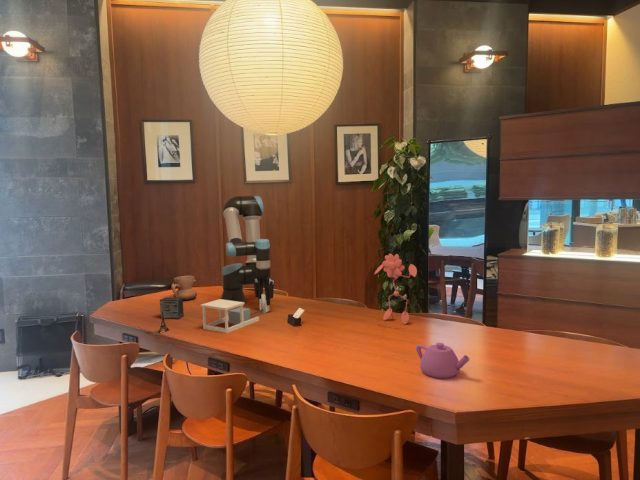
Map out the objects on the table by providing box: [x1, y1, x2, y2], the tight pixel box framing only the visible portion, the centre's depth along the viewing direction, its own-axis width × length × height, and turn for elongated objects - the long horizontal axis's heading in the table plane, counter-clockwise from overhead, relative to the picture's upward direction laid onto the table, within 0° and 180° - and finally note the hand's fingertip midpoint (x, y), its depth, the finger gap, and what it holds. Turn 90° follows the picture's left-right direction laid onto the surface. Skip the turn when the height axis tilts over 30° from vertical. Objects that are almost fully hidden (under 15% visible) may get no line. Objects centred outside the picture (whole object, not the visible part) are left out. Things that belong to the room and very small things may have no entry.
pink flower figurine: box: [373, 253, 418, 330], centre depth 227 cm, size 15×26×35 cm, turn 45°
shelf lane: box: [200, 298, 260, 334], centre depth 228 cm, size 24×16×13 cm, turn 149°
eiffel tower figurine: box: [144, 308, 171, 336], centre depth 221 cm, size 15×10×13 cm
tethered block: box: [228, 293, 268, 325], centre depth 241 cm, size 26×7×10 cm, turn 149°
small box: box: [159, 297, 184, 320], centre depth 248 cm, size 11×6×10 cm, turn 84°
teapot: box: [415, 342, 471, 379], centre depth 165 cm, size 14×20×11 cm
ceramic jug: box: [171, 275, 198, 302], centre depth 291 cm, size 18×14×14 cm
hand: (264, 310), depth 251 cm, fingers closed on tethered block, 3 cm apart
